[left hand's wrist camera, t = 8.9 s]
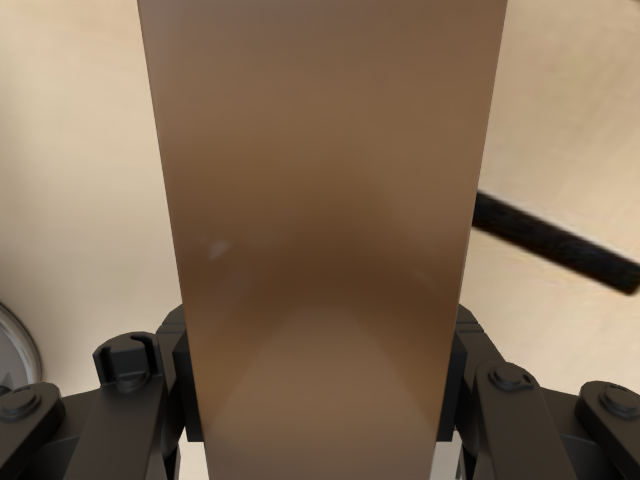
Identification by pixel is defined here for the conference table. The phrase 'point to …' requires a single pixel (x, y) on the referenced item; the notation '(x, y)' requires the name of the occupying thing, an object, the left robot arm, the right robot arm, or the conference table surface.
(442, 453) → the projector
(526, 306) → the conference table surface
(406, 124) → the beam
